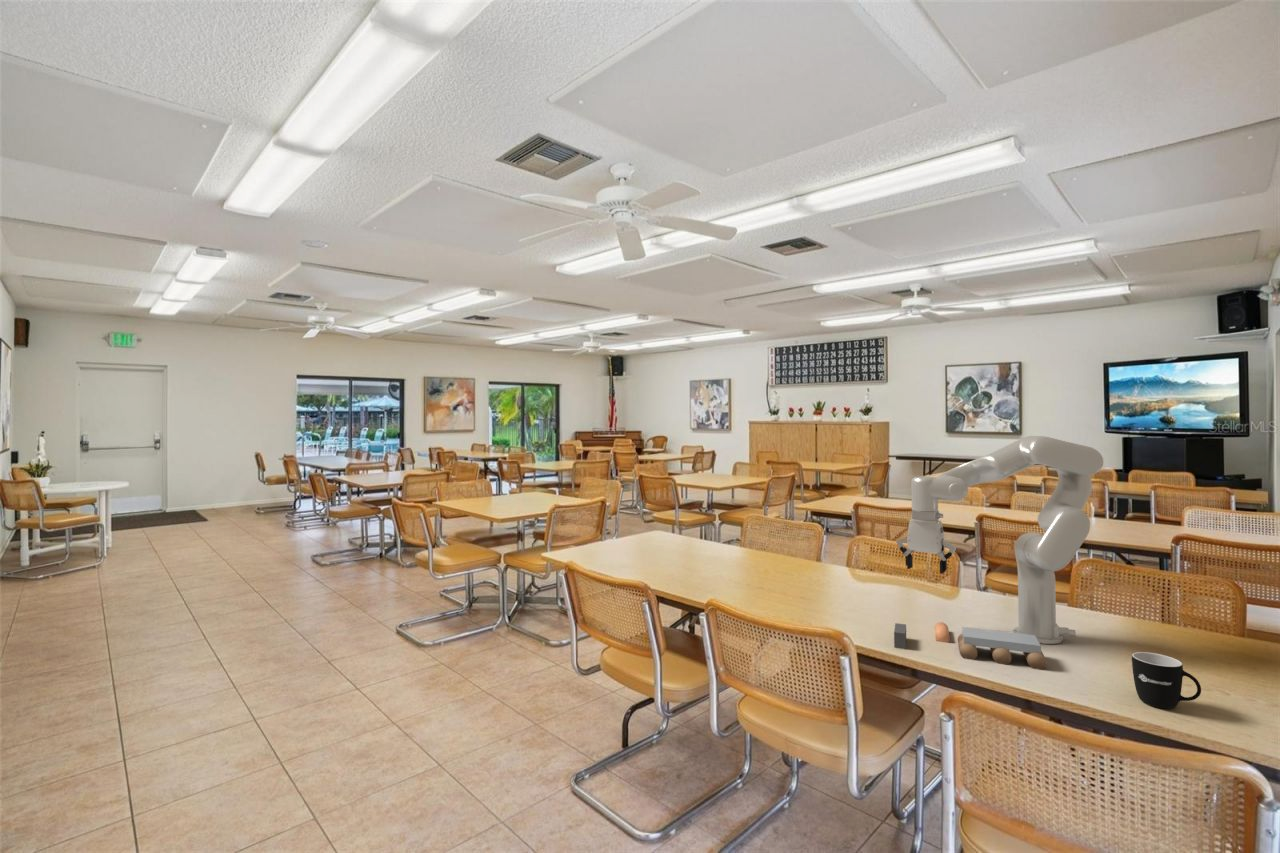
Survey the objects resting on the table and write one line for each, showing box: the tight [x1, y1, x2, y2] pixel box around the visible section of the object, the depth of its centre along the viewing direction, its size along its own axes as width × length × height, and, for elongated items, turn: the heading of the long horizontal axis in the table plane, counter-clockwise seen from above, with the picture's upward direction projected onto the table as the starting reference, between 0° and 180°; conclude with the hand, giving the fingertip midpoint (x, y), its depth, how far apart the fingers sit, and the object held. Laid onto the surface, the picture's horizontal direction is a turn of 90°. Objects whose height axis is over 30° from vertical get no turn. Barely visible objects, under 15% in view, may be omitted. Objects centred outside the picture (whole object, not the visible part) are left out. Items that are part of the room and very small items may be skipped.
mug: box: [1131, 651, 1202, 709], centre depth 137 cm, size 12×9×10 cm
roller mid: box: [989, 648, 1012, 666], centre depth 166 cm, size 10×4×4 cm, turn 154°
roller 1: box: [934, 621, 951, 643], centre depth 182 cm, size 10×4×4 cm
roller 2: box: [957, 633, 978, 661], centre depth 169 cm, size 10×4×4 cm, turn 154°
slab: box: [961, 626, 1042, 654], centre depth 166 cm, size 18×9×2 cm, turn 64°
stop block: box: [893, 622, 907, 650], centre depth 177 cm, size 3×9×5 cm, turn 154°
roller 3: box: [1022, 650, 1048, 671], centre depth 162 cm, size 10×4×4 cm, turn 154°
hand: (925, 570), depth 186 cm, fingers open, 9 cm apart
